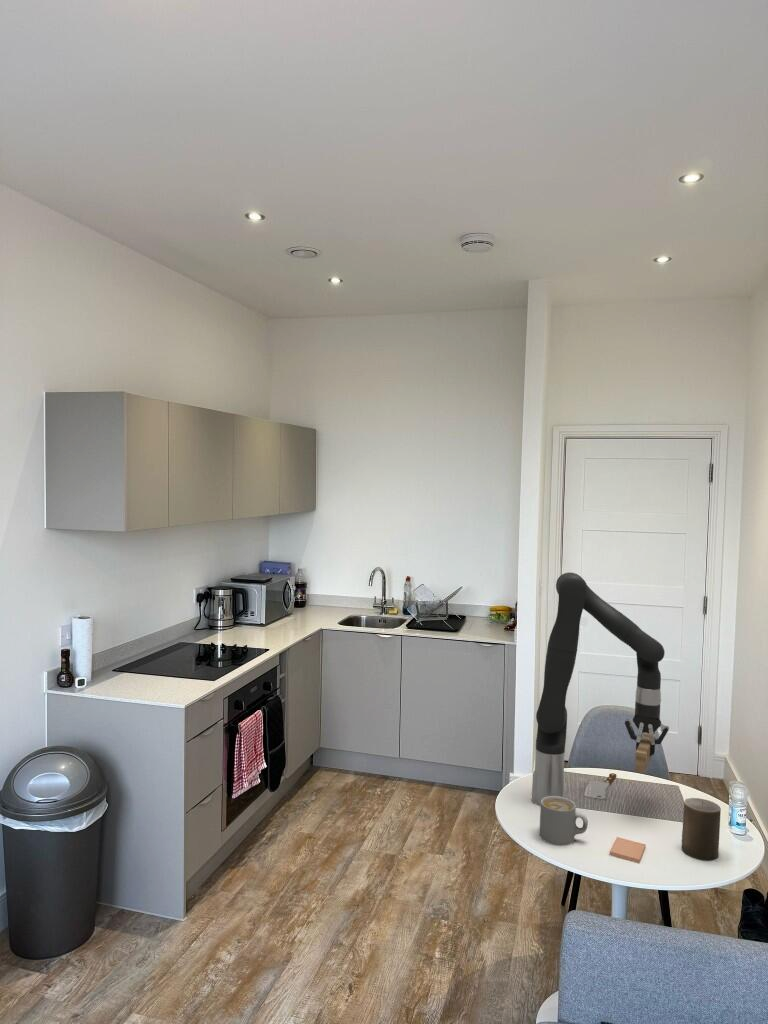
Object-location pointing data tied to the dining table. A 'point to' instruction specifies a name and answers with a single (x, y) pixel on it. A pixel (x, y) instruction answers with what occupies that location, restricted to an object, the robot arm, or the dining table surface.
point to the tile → (627, 850)
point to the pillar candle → (701, 828)
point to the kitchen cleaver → (601, 787)
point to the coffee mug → (560, 820)
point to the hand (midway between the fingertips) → (645, 754)
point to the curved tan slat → (643, 754)
